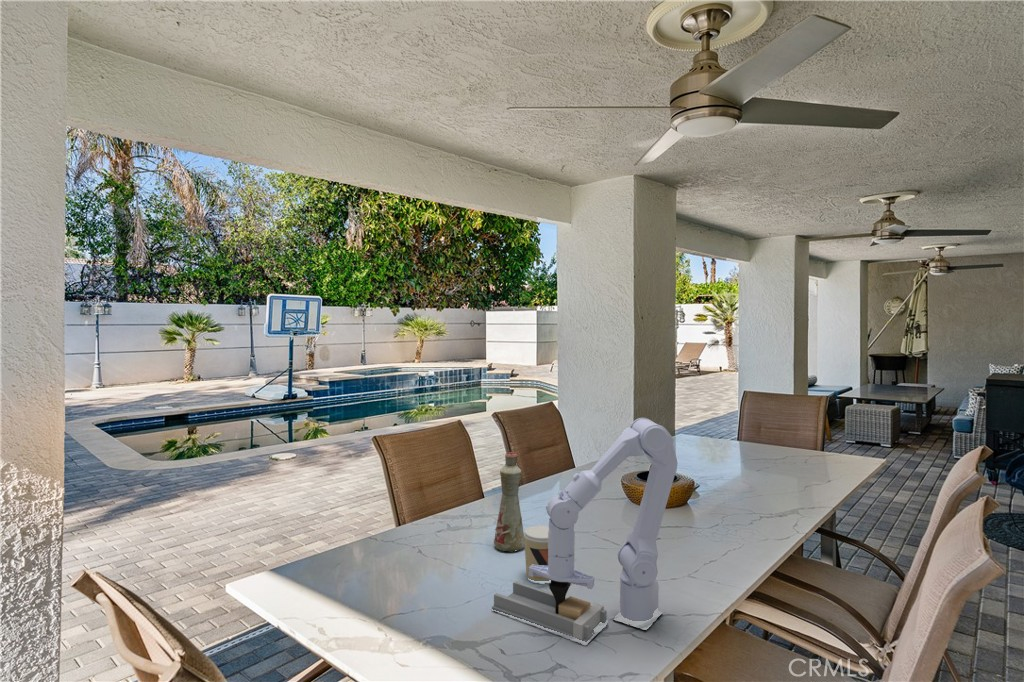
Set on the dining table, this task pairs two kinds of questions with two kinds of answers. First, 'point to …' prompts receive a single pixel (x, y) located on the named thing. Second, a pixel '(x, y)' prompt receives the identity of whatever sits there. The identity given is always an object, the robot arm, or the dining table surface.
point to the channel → (548, 611)
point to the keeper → (573, 607)
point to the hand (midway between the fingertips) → (560, 613)
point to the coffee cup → (536, 548)
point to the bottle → (509, 508)
